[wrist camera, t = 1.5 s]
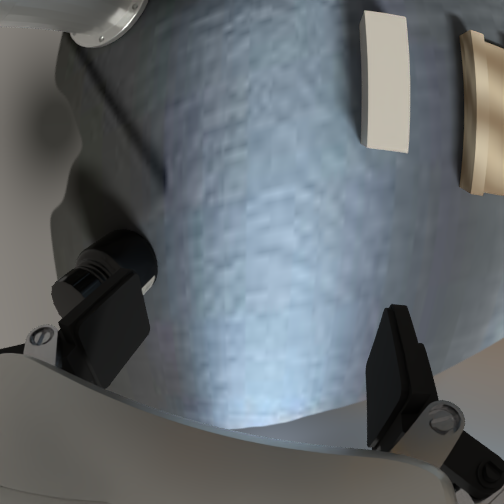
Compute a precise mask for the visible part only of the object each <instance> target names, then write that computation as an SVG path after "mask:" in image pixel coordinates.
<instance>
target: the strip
mask: <svg viewBox="0 0 504 504" xmlns="http://www.w3.org/2000/svg"><path fill="white" fill-rule="evenodd" d="M359 31H360V49H361V80H362V113H361V144H362V145H363V146H365V147H367V148H373V149H382V150H390V151H397V152H404V153H408V145H409V126H410V65H409V47H408V34H407V24H406V17H403V16H398V15H392V14H386V13H380V12H373V11H365V10H364V13H363V16H362V18H361V21H360V24H359Z"/></svg>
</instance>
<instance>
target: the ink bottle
mask: <svg viewBox="0 0 504 504" xmlns="http://www.w3.org/2000/svg"><path fill="white" fill-rule="evenodd" d="M121 268H126V269H132V270H135V271H136V273H137V274H138V275H139V278H140V283H141V288H142V293H143V295H144V294H145V293H146V292H147V291H148V289H149V288H150V287H151V286H152V285H153V284H154V282H155V281H156V278H157V272H158V269H157V262H156V258H155V256H154V253H153V251H152V249H151V247H150V246H149V244H148V243H147V242H146V241H145V240H144V239H143V238H142V237H141V236H140V235H138V234H137V233H135V232H132V231H130V230H124V229H120V230H115V231H113V232H111V233H109V234H107V235H106V236H104V237H103V238H101V239H100V240H98V241H97V242H95V243H94V244H92V245H91V246H89V247H88V248H86V249H85V250H83V251H82V252H81V253H80V255H79V256H78V258H77V260H76V265H75V268H74V269H72V270H71V271H69V272H68V273H67V274H65V275H64V276H63V277H61V278H60V279H59V280H57V281H56V282H55V284H54V285H53V286H52V293H51V295H52V298H53V302H54V305H55V307H56V309H57V311H58V313H59V315H60V316H61V317H62V318H63V317H64V316H66V315H67V314H68V313H69V312H70V311H71V310H72V309H73V308H74V307H76V306H77V305H78V304H79V303H80V302H81V301H82V300H84V299H85V298H86V297H87V296H88V295H89V294H91V293H92V292H93V291H94V290H95V289H96V288H98V287H99V286H100V285H101V284H102V283H103V282H105V281H106V280H107V279H108V278H109V277H111V276H112V275H113V274H114V273H115V272H117V271H118V270H119V269H121Z"/></svg>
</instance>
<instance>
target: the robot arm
mask: <svg viewBox="0 0 504 504" xmlns="http://www.w3.org/2000/svg"><path fill="white" fill-rule="evenodd" d="M147 3H148V0H0V27H20V28H35V29H46V30H55V31H63V32H70V34H71V36H72V39H73V40H74V41H75V42H76V43H77V44H79V45H80V46H84V47H90V48H97V47H102V46H105V45H108V44H110V43H112V42H114V41H116V40H117V39H118V38H120V37H121V36H122V35H124V34H125V33H126V32H127V31H128V30H129V29H130V28H131V27H132V26H133V25H134V23H135V22H136V21H137V20H138V18H139V17H140V15H141V14H142V12H143V11H144V9H145V7H146V5H147ZM58 323H59V326H60V328H61V329H60V330H59V331H58V330H57V328H56V327H55V326H53V325H49V324H48V325H41V326H38V327H36V328H34V329H33V330H32V331H31V332H30V333H29V334H28V336H27V339H26V342H25V344H21V345H17V346H12V347H8V348H3V349H0V504H504V461H503V460H502V459H501V458H500V457H499V456H498V455H496V454H495V453H494V452H492V451H491V450H490V449H488V448H487V447H485V446H484V445H483V444H481V443H480V442H479V441H477V440H476V439H474V438H473V437H472V436H470V435H469V434H468V433H466V432H465V431H464V430H463V429H464V426H465V418H464V415H463V412H462V411H461V410H460V408H459V407H458V406H456V405H455V404H453V403H451V402H449V401H444V400H440V401H439V400H438V396H437V391H436V387H435V383H434V379H433V375H432V371H431V367H430V364H429V360H428V357H427V353H426V350H425V347H424V345H423V344H422V343H418V340H417V337H416V333H415V330H414V327H413V324H412V320H411V317H410V314H409V311H408V308H407V306H406V305H395V304H391V305H390V307H389V308H385V309H384V312H383V315H382V318H381V322H380V325H379V328H378V331H377V334H376V337H375V340H374V343H373V346H372V349H371V352H370V355H369V358H368V361H367V364H366V390H367V446H368V447H372V450H364V449H354V448H343V447H331V446H322V445H314V444H306V443H298V442H292V441H285V440H278V439H272V438H266V437H261V436H255V435H251V434H246V433H241V432H236V431H232V430H228V429H224V428H220V427H216V426H212V425H208V424H204V423H200V422H197V421H193V420H190V419H186V418H183V417H180V416H177V415H173V414H170V413H167V412H164V411H161V410H158V409H155V408H152V407H149V406H147V405H144V404H141V403H138V402H136V401H133V400H130V399H128V398H125V397H123V396H120V395H118V394H115V393H113V392H110V391H108V390H106V388H107V387H108V386H109V385H110V384H111V382H112V381H113V380H114V378H115V377H116V376H117V374H118V373H119V372H120V371H121V369H122V368H123V367H124V365H125V364H126V363H127V361H128V360H129V359H130V357H131V356H132V355H133V354H134V352H135V351H136V350H137V348H138V347H139V346H140V344H141V343H142V342H143V341H144V339H145V338H146V337H147V335H148V334H149V331H150V325H149V320H148V316H147V312H146V307H145V302H144V298H143V293H142V288H141V283H140V278H139V275H138V274H137V273H136V271H135V270H132V269H126V268H121V269H119V270H118V271H117V272H115V273H114V274H113V275H112V276H111V277H109V278H108V279H107V280H106V281H105V282H103V283H102V284H101V285H100V286H99V287H98V288H96V289H95V290H94V291H93V292H92V293H91V294H89V295H88V296H87V297H86V298H85V299H84V300H82V301H81V302H80V303H79V304H78V305H77V306H76V307H74V308H73V309H72V310H71V311H70V312H69V313H68V314H67V315H66V316H64V317H63V318H62V319H61V320H60V321H59V322H58Z"/></svg>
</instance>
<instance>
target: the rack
mask: <svg viewBox="0 0 504 504" xmlns="http://www.w3.org/2000/svg"><path fill="white" fill-rule="evenodd" d="M459 37H460V45H461V54H462V65H463V80H464V141H463V157H462V168H461V178H460V186H459V187H461V188H462V189H464V190H466V191H467V192H469V193H470V194H475V195H481V196H483V192H485V193H491V194H496V195H501V196H504V49H502V48H500V47H498V46H495V45H492V44H490V43H487V42H484V36H483V34H481V33H478V32H476V31H473V30H469V31H467V32H465V33H464V34H462V35H460V36H459Z"/></svg>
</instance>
